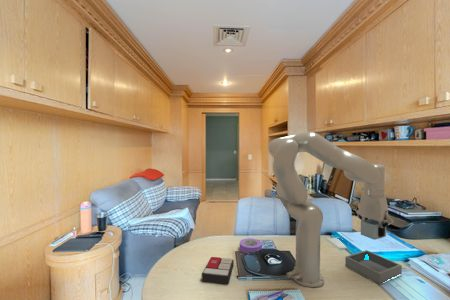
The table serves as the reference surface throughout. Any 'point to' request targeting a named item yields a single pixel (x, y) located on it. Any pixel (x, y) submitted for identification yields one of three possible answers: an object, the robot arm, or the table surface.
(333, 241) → the hard drive
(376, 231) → the grey block
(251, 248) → the masking tape
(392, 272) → the grey crate
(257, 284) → the table surface
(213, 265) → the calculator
